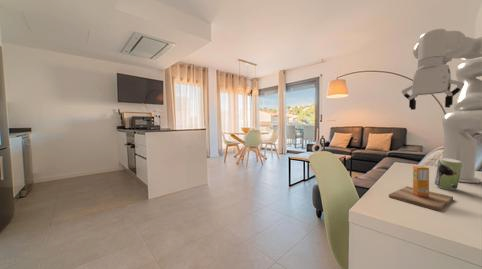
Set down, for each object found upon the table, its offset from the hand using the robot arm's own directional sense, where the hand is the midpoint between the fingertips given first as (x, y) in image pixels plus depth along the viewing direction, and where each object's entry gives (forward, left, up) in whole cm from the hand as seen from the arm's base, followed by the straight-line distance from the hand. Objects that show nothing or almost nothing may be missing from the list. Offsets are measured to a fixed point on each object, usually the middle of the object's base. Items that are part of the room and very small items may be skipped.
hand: (429, 108), depth 71 cm
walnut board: (+17, +3, -32) cm, 36 cm away
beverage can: (-5, +5, -32) cm, 33 cm away
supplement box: (+17, +3, -31) cm, 35 cm away
